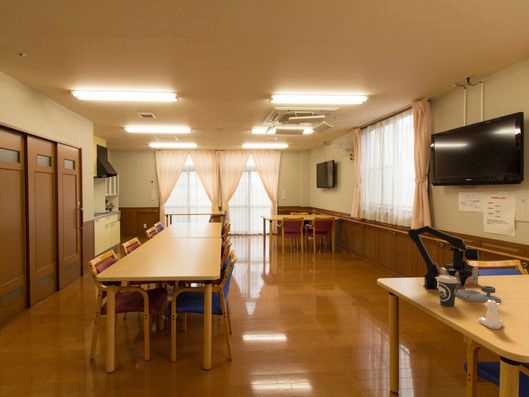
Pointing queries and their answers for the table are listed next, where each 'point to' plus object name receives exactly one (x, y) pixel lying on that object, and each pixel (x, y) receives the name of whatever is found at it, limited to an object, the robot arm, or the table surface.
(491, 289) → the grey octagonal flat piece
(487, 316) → the sitting furry creature
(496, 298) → the light gray tray
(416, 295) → the table surface
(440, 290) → the coffee cup
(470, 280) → the stack of blocks
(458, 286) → the brown wooden block
